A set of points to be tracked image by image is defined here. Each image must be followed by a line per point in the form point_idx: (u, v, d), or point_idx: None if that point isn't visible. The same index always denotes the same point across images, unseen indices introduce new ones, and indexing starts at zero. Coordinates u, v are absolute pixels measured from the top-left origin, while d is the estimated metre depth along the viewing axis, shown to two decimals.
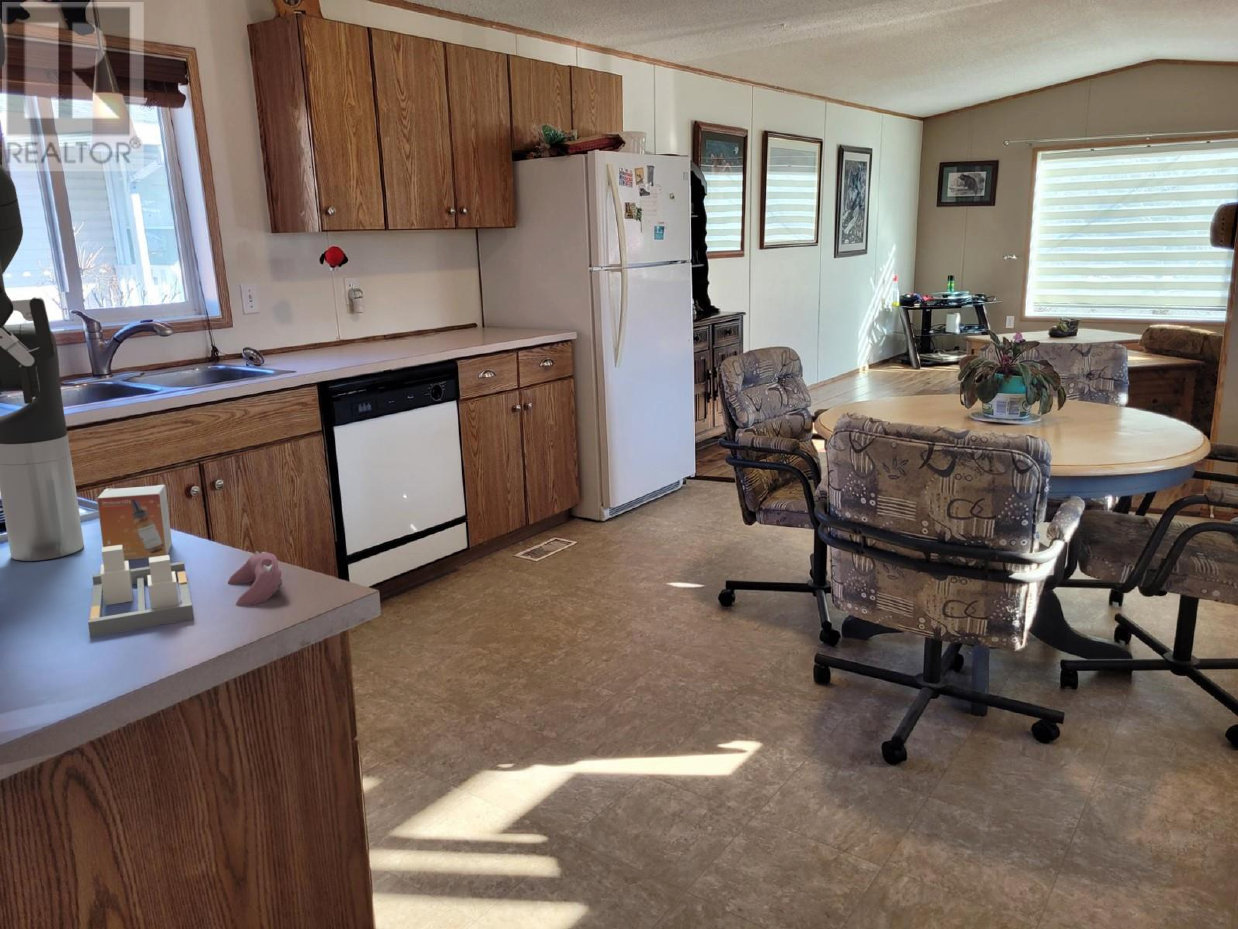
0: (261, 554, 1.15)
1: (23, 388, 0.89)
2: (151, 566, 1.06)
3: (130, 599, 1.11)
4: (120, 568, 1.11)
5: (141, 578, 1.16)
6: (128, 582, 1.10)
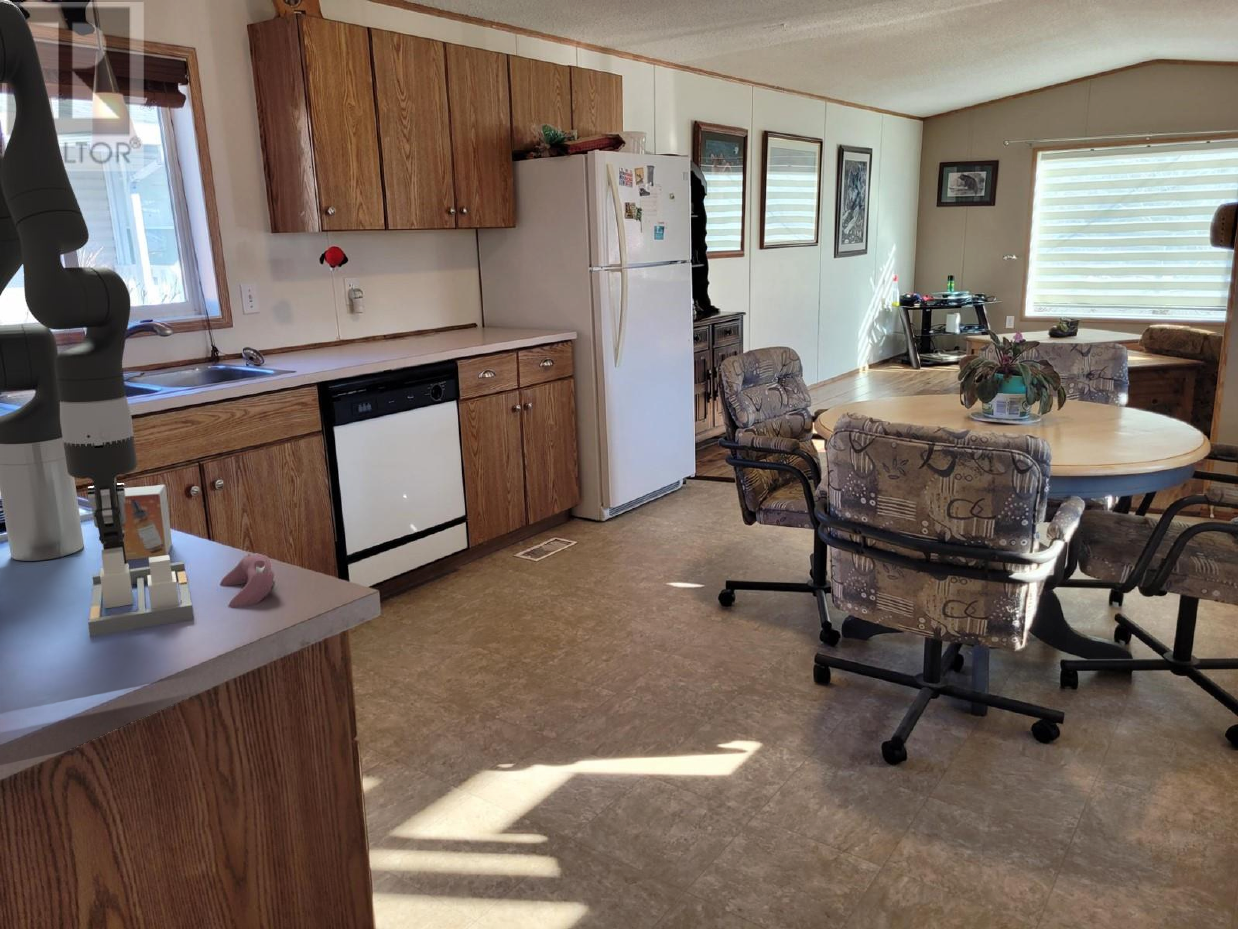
0: (254, 555, 1.14)
1: (125, 555, 1.14)
2: (151, 566, 1.06)
3: (130, 602, 1.10)
4: (120, 571, 1.10)
5: (141, 578, 1.16)
6: (128, 585, 1.09)
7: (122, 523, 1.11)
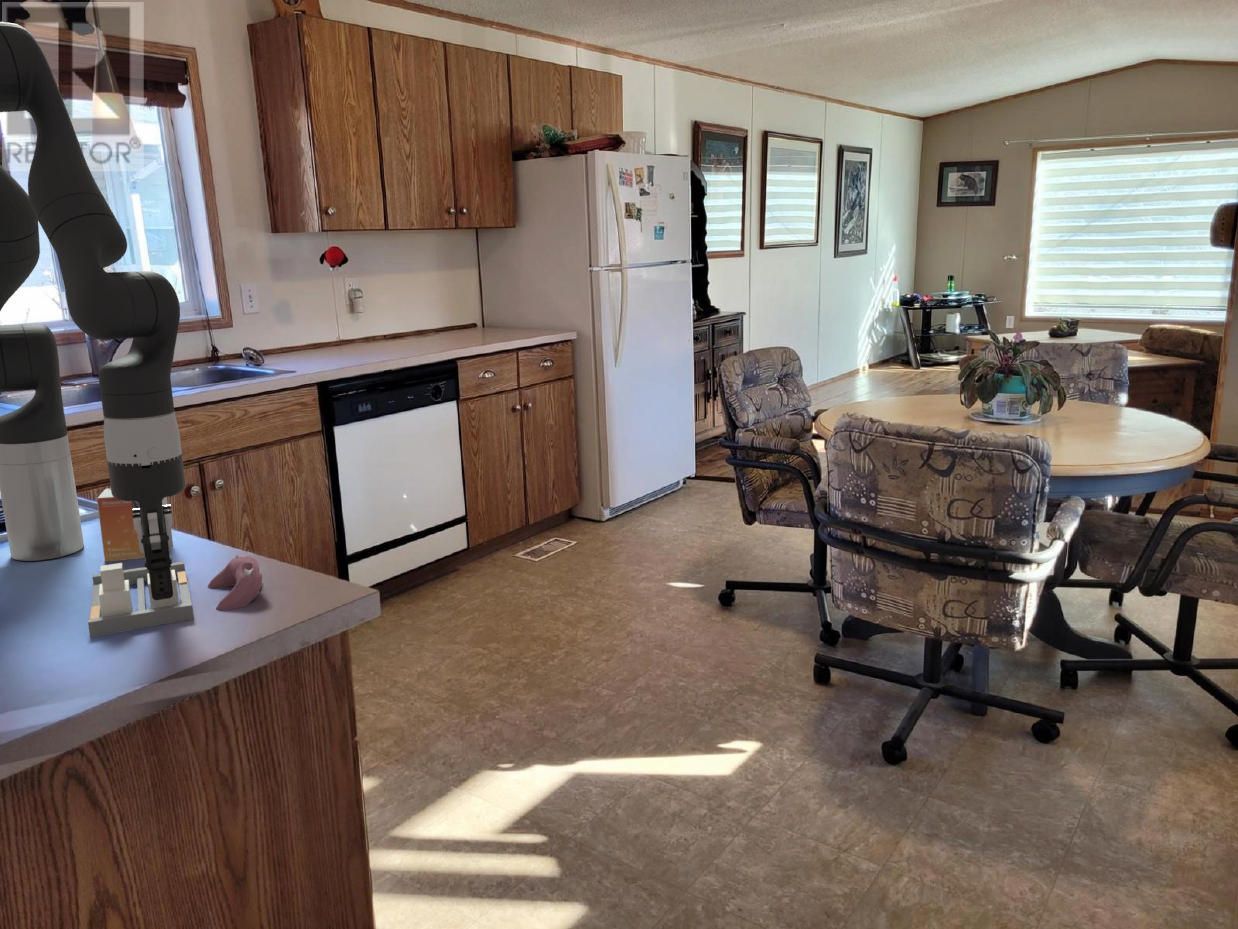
0: (242, 558, 1.13)
1: None
2: None
3: None
4: (120, 588, 1.04)
5: (141, 578, 1.16)
6: (128, 603, 1.04)
7: (169, 548, 1.03)
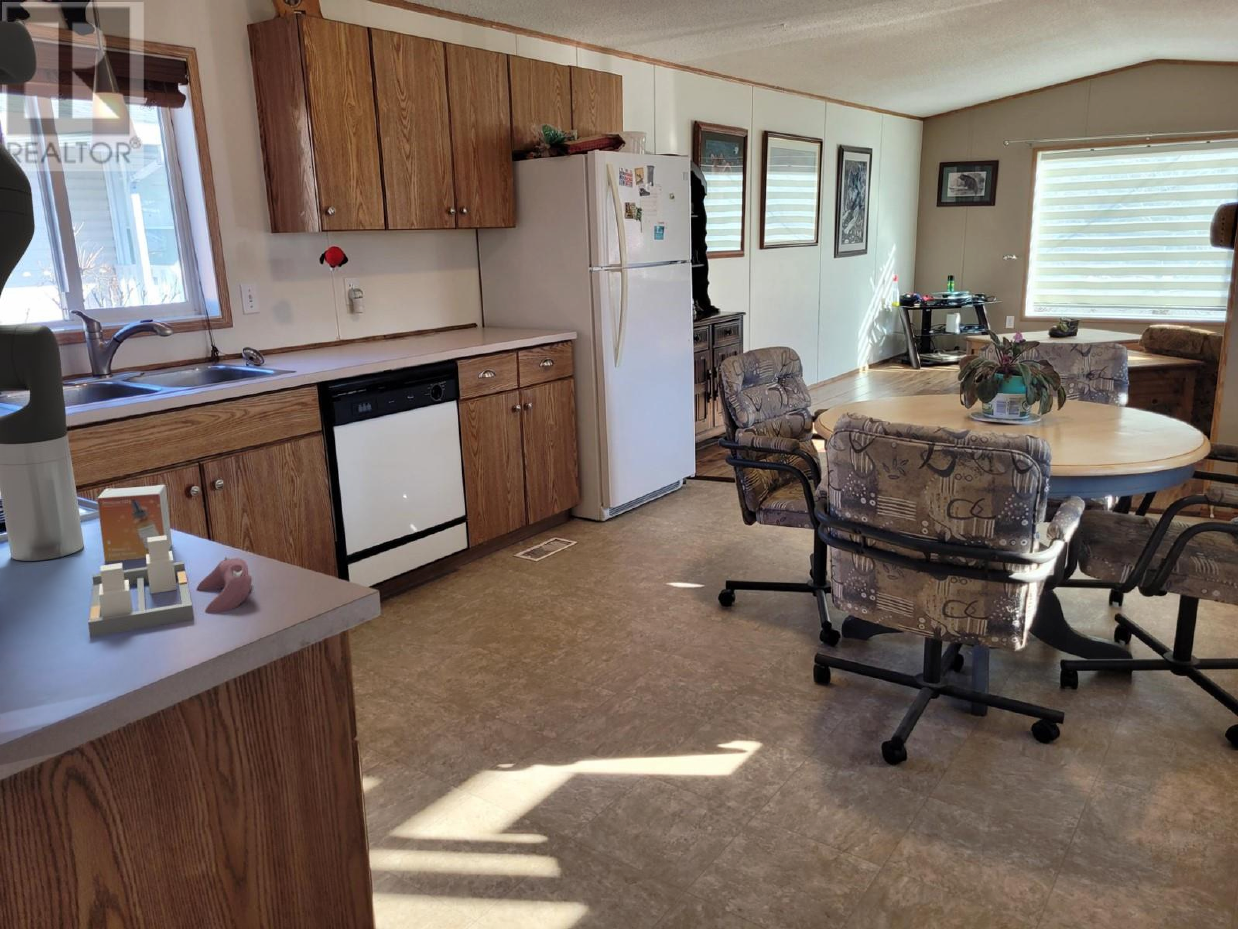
0: (231, 560, 1.13)
1: None
2: (149, 545, 1.13)
3: None
4: (120, 588, 1.04)
5: (141, 578, 1.16)
6: (128, 603, 1.04)
7: None
